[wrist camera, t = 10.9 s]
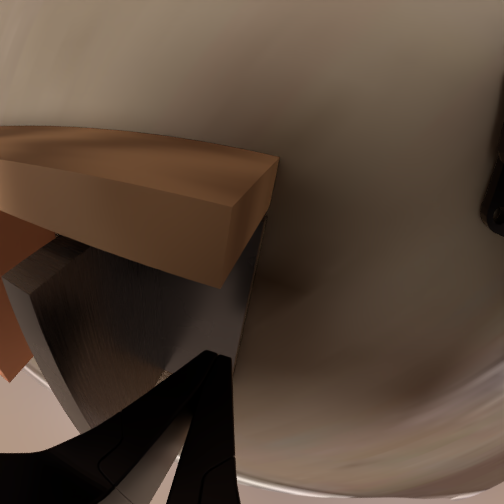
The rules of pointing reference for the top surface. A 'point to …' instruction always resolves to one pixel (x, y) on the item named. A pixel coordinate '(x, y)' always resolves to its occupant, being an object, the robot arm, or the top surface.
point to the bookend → (121, 322)
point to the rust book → (3, 318)
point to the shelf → (139, 194)
